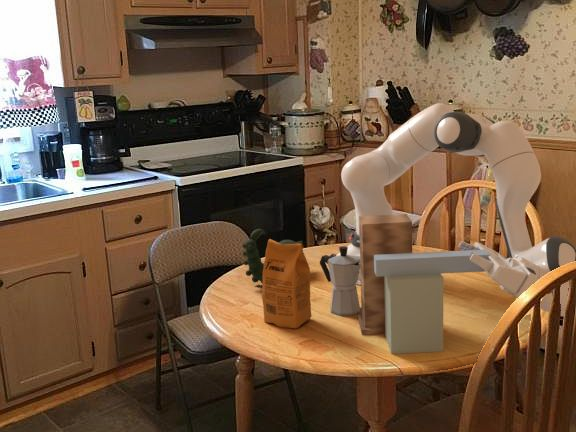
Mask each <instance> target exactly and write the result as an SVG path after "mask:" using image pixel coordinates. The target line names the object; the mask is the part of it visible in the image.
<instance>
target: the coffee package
mask: <svg viewBox="0 0 576 432" xmlns="http://www.w3.org/2000/svg"><path fill="white" fill-rule="evenodd" d="M267 240H268V241H267V245H266V249H265V254H264V255H265V256H264V262H263V263H264V269H263V284H262V283H261V284H262V289H261V291H262V293H261V299H262V304H263V305H262V306H263V320H264V323H268V324H274V325H276V326H277V327H279V328H284V329H285V328H286V329H298V328H300V327H301V326H302V325H303V324H305V323H306V322H307V321H309V320H310V319H311V318H312V304H311V279H310V277H311V269H310V266H309V262H308V260H307V258H306V255H305V252H304V250H303V249H304V248H305V246H304V244H303V243H302V244H284V245H283V244H280V243H279V242H278V241H276V240H273V239H271V238H269V239H267Z"/></svg>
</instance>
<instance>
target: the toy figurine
mask: <svg viewBox="0 0 576 432" xmlns="http://www.w3.org/2000/svg"><path fill="white" fill-rule="evenodd" d="M261 235H264V236H265V235H266V231H265V230H264V229H262V228H257V229H255V230H253V231H252V232H251V233H250V239H247V240H246V241H245V242H244V243H243V244H242V245H241V247H242V248H243V249H245V250H244V251H242V256H244V257H246V258H247V259H246V260H243V265H245V266H248V269H247V270H246V271H245V276H247V277H250V276H251V275H252V277H251V281H252V282H253V283H258V282H260V284H263V269H264V262H262V259H261V257H260V255H259V249H258V248H257V243H256V241H258V240H259V238H260V237H261ZM303 241H304V240H299V241H294V240H291V239H282V240H281V241H279V242H278V243H280V244H283V245H284V244H303Z"/></svg>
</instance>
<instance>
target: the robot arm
mask: <svg viewBox="0 0 576 432" xmlns="http://www.w3.org/2000/svg"><path fill="white" fill-rule="evenodd" d="M438 147H440V148H441V149H443V150H444V151H446V152H448V153H452V154H453V153H454V154H457V155H461V156H465V157H466V156H468V157H469V156H471V157H472V156H473V157H479V158H480V157H485V159H486V160H487V162H488V165H489V168H490V171H491V173H492V175H493V180H494V185H495V190H496V202H495V203H496V210H497V211H496V213H497V216H498V220H499V224H500V227H501V232H502V235H503V239H504V242H505V246H506V249H507V254H508V255H507V256H508V258H506V257H504V255H502V254H501V253H499V252H497V251H496V250H494V249H492V248H490V247H488V246H487V245H485V244H483V243H482V242H478V241H475V242H474V244H471V243H468V242H466V241H463V240H461V241H460V242H459V243H458V248H459V249H460V251H466V250H486V251H487V252H488V253H489V254H490V255H489V256H488V258H489V259H490V260H486V259H484V258H482V257H480V256H479V255H477V254H475V253H471V254H470V256H469V259H470V261H471V262H473V263H475V264H477V265H478V266H480V267H481V268H482V269H483V270H484V271H485V273H486V274H487V276H488V277H489V278H490V279H491V280H492V281H493V282H495V283H497V284H498V285H499V288H500V289H501V291H504V292H506V293H508V294H510V295H512V296H514V297H515V298H517V299H519V298H518V297H519V296H520V295H521V294H522V293H523V292H524V291H526V290H527V289H528V288H529V287H530V286H531V285H532V284H534V283H535V282H536V281H537V280H538V279H540V278H541V277H542V276H544V275H545V274H547V273H548V272H550V271H552V270H554V269H556V268H558V267H560V266H562V265H565V264H567V263H570V262H574V261H576V247H575V245H574V244H573V243H572V242H571V241H570V240H569V239H567V238H565V237H563V236H560V235H553V236H551V237H548V238H546V239H544V240H542V241H540V242H539V243H537V244H535V245H534V246H533V245H532V242H531V239H530V235H529V231H528V227H527V224H526V219H525V218H526V217H525V214H526V209H527V207H528V204H529V202H530V200H531V198H532V197H533V196H534V194H535V193H536V191H537V189H538V188H539V185H540V183H541V179H542V171H541V167H540V164H539V161H538V158H537V156H536V153H535V152H534V150H533V148H532V145H531V143H530V142H529V139H528V138H527V137H526V135H525V134H524V132H523V130H522V129H521V127H520V126H519V125H518V124H517V123H516V122H514V121H513V120H512V121H511V120H501V121H497V122H495V121H494V120H492V119H491V118H488V117H484V116H482V115H479V114H476V113H467V112H463V111H454V109H453V108H452V107H451V106H450V105H447V104H445V103H443V102H438V103H435V104H433V105H430V106H428V107H426V108H424V109H423V110H422V111H420V112H418V113H417V114H414V116H413V117H411V118H409V119H408V120H407V121H406V122H404V123H403V124H402V125H400V126H399V127H398V128H397V129H396V130H394V131H393V132H392V133H390V134H389V135H388V137H387V139H386V140H385V141H383V143H382V144H381V145H380V146H378V147H377V148H376V149H374V150H371V151H370V152H367V153H365V154H360V155H357V156H355V157H353V158H352V159H350V160H349V161H348V162H347V163H345V165H344V166H343V167H342V169H341V173H340V176H341V182H342V184H343V186H344V187H345V189H346V190H348V191H349V193H350V195H351V197H352V201H353V205H354V209H355V225H356V226H355V228H356V229H355V231H354V232H353V233H351V235H349V237H348V238H349V241H350V240H351V243H350V244H349V245H348V246H346V247H348V249H347V255H352V256H356V257H357V258H359V259H360V236H359V216H376V215H393V207H392V206H391V204H390V203H389V202H388V200H387V196H386V194H385V186H387V185H390V184H392V183H393V182H395V181H396V180H398V178H400V177H401V176H403V175H404V174H405V173H406V172H407V171H408V170H409V169H410V168H411V167H412V166H414V165H415V164H417V162H420V161H421V160H422V159H423V158H425V157H426V156H427V155H429V154H431V153H432V152H433V151H434V150H436V149H437V148H438ZM339 255H340V251H339V252H338V253H337V254H336V256H339ZM356 285H359V286H361V272H360V270H359V275H358V282H357V283H356ZM568 288H569V281H568V282H566V283H564V284H562V285H561V287H560V304H561V316H560V317H565V316H564V315H565V308H566V301H567V294H568ZM551 299H552V293H550V294H548V295H546V296H545V297H544V298H543V299H542V301H541V309H540V310H542V311H545V312H547V313H549V311H550V305H551Z"/></svg>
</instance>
